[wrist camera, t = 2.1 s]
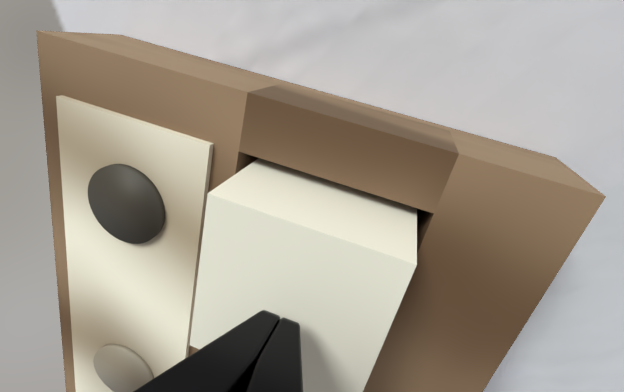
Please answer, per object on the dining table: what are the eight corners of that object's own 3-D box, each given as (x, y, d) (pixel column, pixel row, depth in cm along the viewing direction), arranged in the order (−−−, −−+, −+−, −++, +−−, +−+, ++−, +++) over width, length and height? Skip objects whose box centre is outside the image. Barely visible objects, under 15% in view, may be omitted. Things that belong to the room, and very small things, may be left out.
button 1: (368, 327, 11) (353, 412, 9) (240, 279, 12) (189, 345, 9) (416, 204, 10) (416, 264, 7) (262, 155, 10) (207, 193, 8)
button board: (347, 543, 19) (333, 636, 16) (117, 436, 21) (67, 500, 18) (555, 157, 10) (615, 204, 7) (120, 34, 12) (21, 29, 9)
